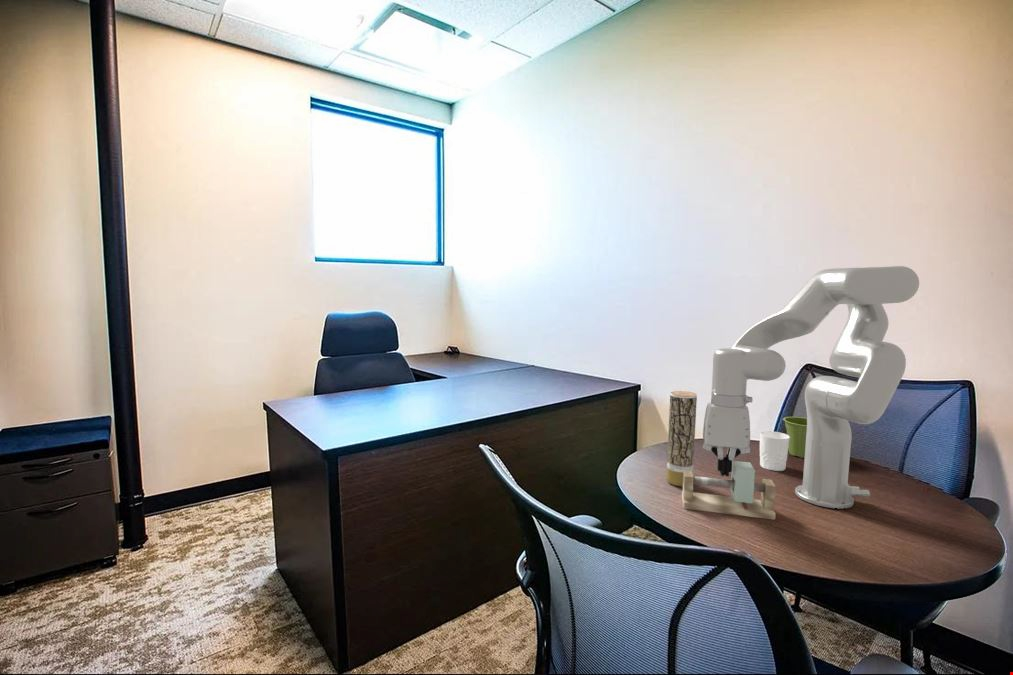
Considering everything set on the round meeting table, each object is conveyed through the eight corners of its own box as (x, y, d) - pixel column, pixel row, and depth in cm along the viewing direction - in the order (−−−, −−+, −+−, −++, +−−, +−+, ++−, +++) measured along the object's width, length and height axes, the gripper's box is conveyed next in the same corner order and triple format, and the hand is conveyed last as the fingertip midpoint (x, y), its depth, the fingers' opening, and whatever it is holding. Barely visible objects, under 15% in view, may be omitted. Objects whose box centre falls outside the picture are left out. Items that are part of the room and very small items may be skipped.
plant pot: (832, 460, 154) (835, 425, 152) (800, 462, 151) (803, 427, 150) (802, 448, 165) (805, 415, 164) (772, 450, 163) (774, 417, 161)
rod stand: (767, 506, 120) (769, 477, 119) (775, 519, 113) (777, 488, 112) (681, 496, 125) (683, 468, 124) (683, 508, 118) (685, 478, 118)
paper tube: (688, 489, 130) (692, 397, 127) (662, 483, 134) (666, 393, 131) (695, 481, 135) (700, 393, 132) (671, 475, 139) (675, 389, 136)
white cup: (788, 465, 148) (790, 433, 147) (786, 474, 141) (789, 440, 140) (759, 460, 152) (761, 429, 151) (756, 468, 146) (758, 435, 145)
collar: (748, 493, 120) (749, 462, 119) (752, 503, 115) (754, 470, 114) (730, 491, 121) (732, 460, 120) (734, 501, 116) (736, 468, 115)
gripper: (759, 399, 118) (754, 472, 120) (693, 394, 122) (690, 465, 124) (766, 406, 111) (761, 483, 113) (696, 401, 115) (692, 476, 117)
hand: (724, 474), depth 119 cm, fingers closed
